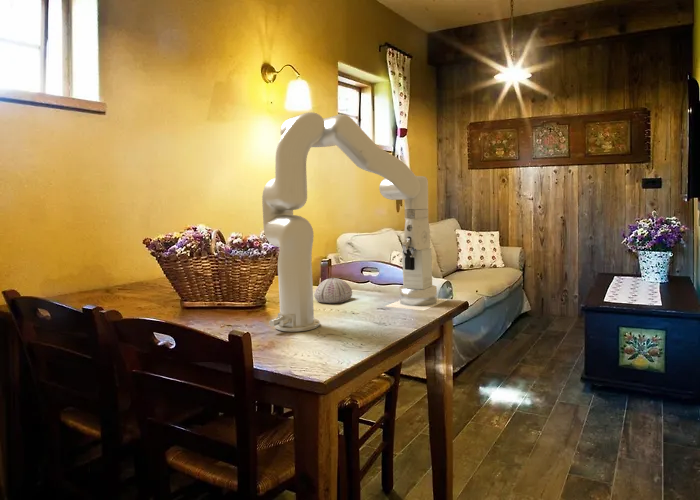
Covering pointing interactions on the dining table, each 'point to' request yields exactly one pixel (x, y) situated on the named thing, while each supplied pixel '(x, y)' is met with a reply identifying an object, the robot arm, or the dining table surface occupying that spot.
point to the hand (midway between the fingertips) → (416, 267)
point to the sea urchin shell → (333, 291)
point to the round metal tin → (418, 296)
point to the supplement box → (419, 270)
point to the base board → (398, 305)
